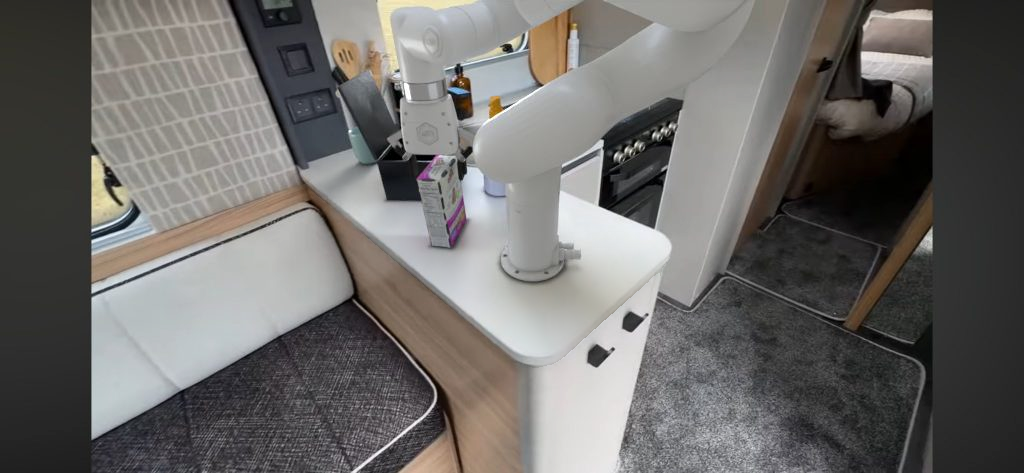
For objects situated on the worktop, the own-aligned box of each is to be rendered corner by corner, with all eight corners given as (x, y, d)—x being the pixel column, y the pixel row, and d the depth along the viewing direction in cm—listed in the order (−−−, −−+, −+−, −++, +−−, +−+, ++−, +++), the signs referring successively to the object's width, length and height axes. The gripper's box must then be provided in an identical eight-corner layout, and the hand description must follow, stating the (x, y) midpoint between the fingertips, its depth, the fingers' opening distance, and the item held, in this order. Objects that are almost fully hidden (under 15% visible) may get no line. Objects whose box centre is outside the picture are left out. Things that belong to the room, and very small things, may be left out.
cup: (357, 158, 118) (348, 127, 112) (382, 154, 120) (374, 123, 114) (356, 168, 112) (347, 136, 106) (383, 164, 114) (375, 132, 108)
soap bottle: (479, 196, 96) (470, 102, 82) (489, 179, 104) (483, 90, 90) (512, 199, 95) (508, 104, 81) (520, 182, 102) (518, 92, 88)
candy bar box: (447, 218, 89) (436, 153, 79) (467, 220, 88) (458, 154, 78) (429, 247, 80) (414, 178, 70) (451, 249, 79) (440, 179, 69)
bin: (462, 171, 108) (457, 135, 102) (450, 201, 95) (444, 162, 89) (406, 171, 110) (398, 135, 103) (387, 200, 97) (376, 161, 90)
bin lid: (369, 68, 93) (350, 74, 95) (339, 86, 80) (318, 92, 81) (399, 133, 103) (382, 138, 104) (377, 159, 90) (358, 164, 91)
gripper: (369, 95, 63) (391, 184, 73) (470, 95, 62) (478, 186, 72) (384, 83, 69) (402, 167, 79) (477, 83, 68) (483, 169, 78)
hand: (438, 176), depth 76 cm, fingers open, 9 cm apart
